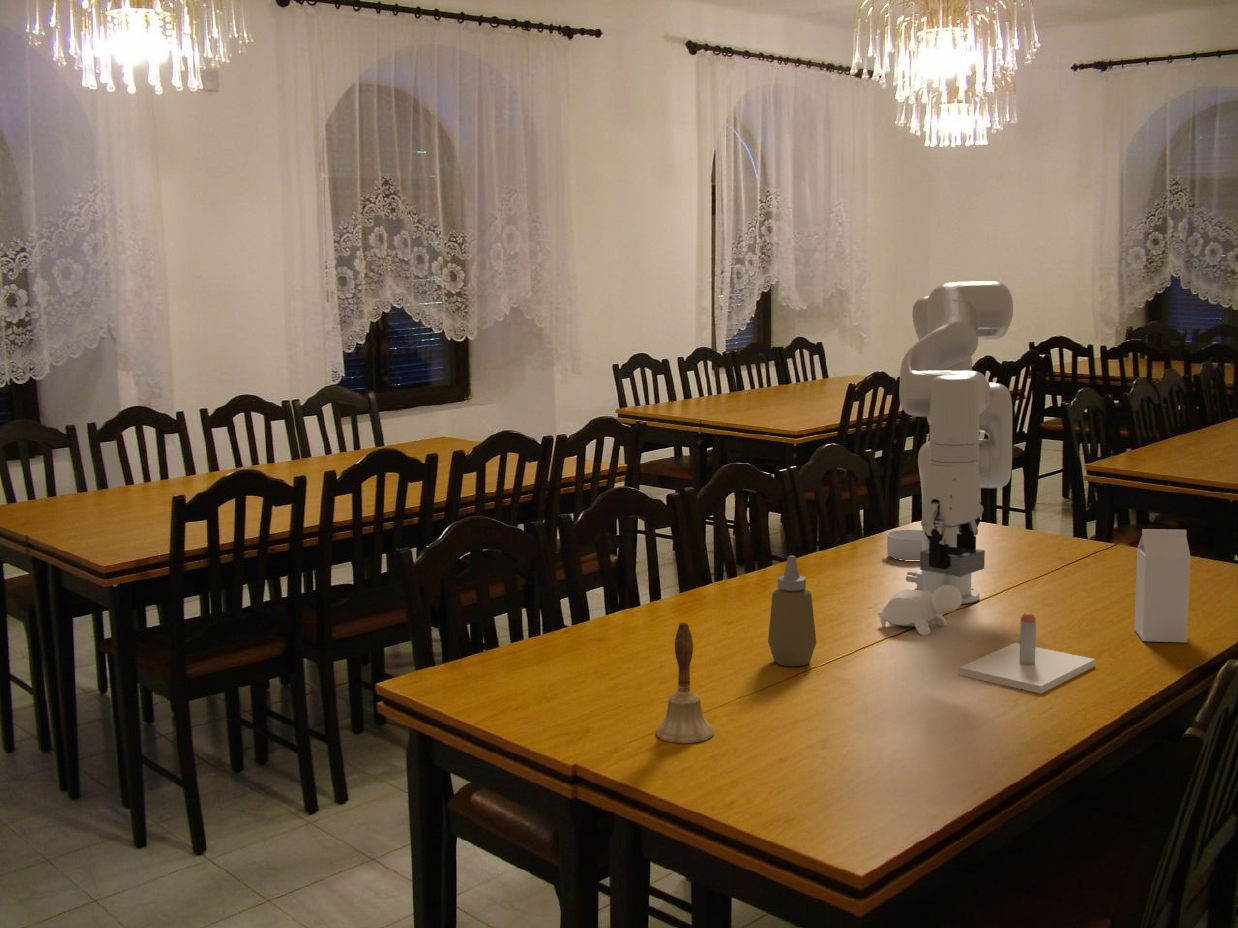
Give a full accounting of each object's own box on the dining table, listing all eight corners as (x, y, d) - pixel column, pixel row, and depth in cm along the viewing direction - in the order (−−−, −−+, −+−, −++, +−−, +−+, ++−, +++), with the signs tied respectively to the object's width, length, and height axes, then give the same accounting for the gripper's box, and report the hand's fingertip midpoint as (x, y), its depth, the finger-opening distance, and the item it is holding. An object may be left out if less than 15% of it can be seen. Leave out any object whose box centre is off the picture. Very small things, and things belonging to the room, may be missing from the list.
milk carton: (1187, 643, 210) (1191, 534, 208) (1142, 642, 212) (1146, 533, 209) (1177, 631, 217) (1181, 525, 215) (1134, 630, 219) (1137, 525, 216)
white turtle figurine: (885, 645, 224) (958, 627, 215) (869, 601, 225) (942, 581, 215) (905, 634, 231) (978, 616, 221) (890, 591, 231) (962, 571, 222)
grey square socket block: (920, 569, 198) (920, 551, 197) (945, 561, 203) (945, 544, 202) (959, 576, 193) (959, 557, 192) (984, 568, 197) (984, 550, 197)
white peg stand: (958, 674, 197) (959, 616, 196) (1014, 649, 209) (1015, 595, 208) (1041, 693, 187) (1042, 633, 186) (1094, 666, 199) (1096, 609, 198)
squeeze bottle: (820, 656, 208) (820, 552, 206) (812, 671, 201) (811, 563, 198) (773, 653, 211) (772, 550, 208) (763, 667, 203) (762, 560, 201)
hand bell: (652, 724, 179) (650, 617, 176) (709, 721, 179) (707, 614, 177) (659, 745, 170) (657, 633, 168) (719, 742, 171) (717, 630, 169)
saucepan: (951, 572, 266) (952, 546, 265) (875, 558, 280) (875, 534, 280) (980, 563, 273) (981, 538, 273) (904, 550, 288) (904, 527, 287)
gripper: (963, 445, 203) (961, 551, 206) (901, 458, 192) (901, 569, 194) (1004, 449, 198) (1002, 557, 201) (943, 462, 186) (942, 577, 189)
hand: (952, 562), depth 198 cm, fingers closed on grey square socket block, 7 cm apart
